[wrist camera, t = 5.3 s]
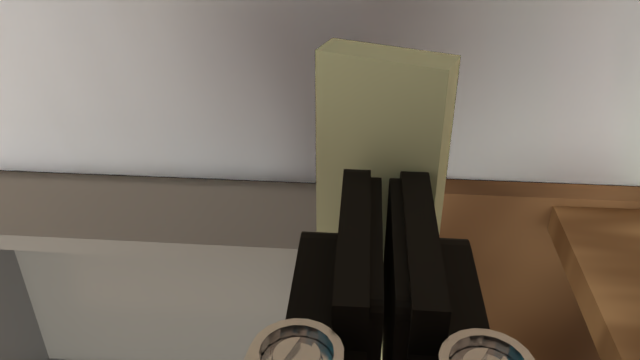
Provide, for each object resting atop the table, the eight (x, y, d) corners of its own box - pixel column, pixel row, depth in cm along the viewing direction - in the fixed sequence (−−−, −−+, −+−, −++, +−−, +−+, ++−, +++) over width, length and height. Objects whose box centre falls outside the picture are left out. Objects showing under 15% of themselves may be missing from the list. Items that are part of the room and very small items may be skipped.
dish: (-18, 170, 23) (-86, 230, 20) (352, 184, 22) (348, 251, 19) (44, 358, 29) (-1, 432, 25) (347, 377, 28) (342, 457, 24)
